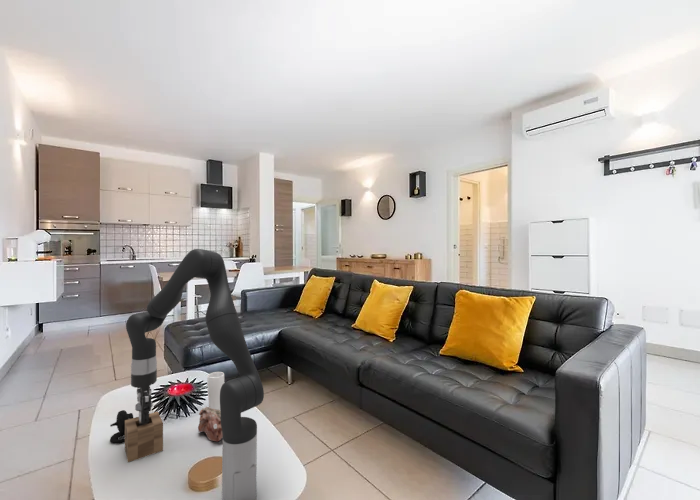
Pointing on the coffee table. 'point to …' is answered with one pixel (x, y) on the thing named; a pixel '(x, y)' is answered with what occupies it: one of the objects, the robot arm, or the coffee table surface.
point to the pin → (138, 408)
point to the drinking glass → (214, 389)
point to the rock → (210, 423)
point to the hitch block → (143, 437)
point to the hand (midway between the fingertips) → (143, 418)
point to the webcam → (120, 427)
